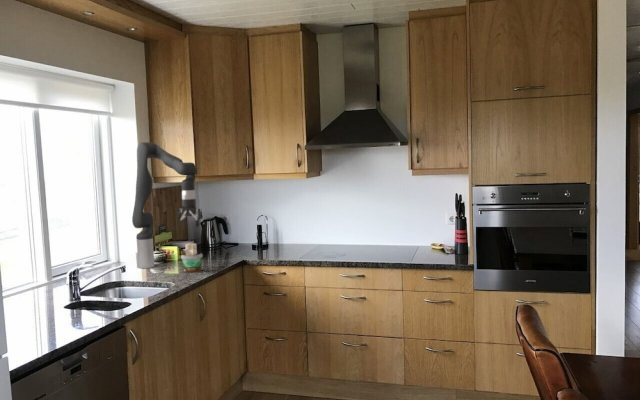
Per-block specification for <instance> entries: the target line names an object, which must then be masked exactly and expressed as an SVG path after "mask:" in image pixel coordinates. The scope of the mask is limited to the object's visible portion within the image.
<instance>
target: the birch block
mask: <svg viewBox="0 0 640 400" xmlns="http://www.w3.org/2000/svg"><path fill="white" fill-rule="evenodd" d="M184 248H185V256H188V255H198V251H197V250H198V249H197V243H192V242H191V243H187V244H186V243H185V247H184Z"/></svg>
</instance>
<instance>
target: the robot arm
mask: <svg viewBox="0 0 640 400" xmlns="http://www.w3.org/2000/svg"><path fill="white" fill-rule="evenodd" d="M153 158H154V159H158V160H160V161H161V162H162V163H163V164H164V165H165V166H166V167H168V168H171V169H172V170H174V171H175V172H176V173H177V174H178V175H181V176H186V177H185V179H183V180H182V181H181V204H182V205H181V207H182V208H180V207H179V208H177V211H176V214H177V215H176V216H177V220H180V226H181V227H182V228H184V227H186V224H185V219H186V218H187V217H192V218H193V219H194V220H195V221H194V222H195V228H199V227H200V221H201V219H203V211H202V208H201V207H198V208H197V201H196V199H197V198H196V197H197V196H196V191H195V182H196V177H197V173H198V172H197V166H196V164H195V163H193V162H183V159H181V158H179V157H177V156H175V155H173V154H171V153H169V152H167V151H166V150H165V149H163V148H162V147H160V145H157V144H156V143H154V142H151V141H150V142H149V141H148V142H146V141H145V142H144V141H143V142H140V143H138V145H137V147H136V166H137V167H136V182H135V183H136V184H135V197H134V205H133V212H132V218H131V220H132V226H133V227H134V228H135V229H141V231H140V232H139V233H137V234H136V250H137V251H136V252H135V256H136V257H135V261H136V268H137V269H150V268H153V267H155V253H154V238H153V236H154V217H153V215H152V213H151V211H144V210H145V209H144V208H145V206H146V203H147V201H148V200H149V198H150V197H151V195H152V192H153V183H154V182H153V181H154V180H153V177H152V175H151V173H150V171H149V169H148V159H153ZM182 213H183V214H182Z"/></svg>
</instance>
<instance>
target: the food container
mask: <svg viewBox="0 0 640 400" xmlns="http://www.w3.org/2000/svg"><path fill="white" fill-rule="evenodd" d="M203 257H204V255H203V253H202V252H201V253H199V254H198V253H197V254H196V255H186V254H185V255H183V254H181V255H180V259H181V260H182V267H183V272H184V273H187V274H193V273H194V272H195V273H199V272H201V271H202V259H203Z"/></svg>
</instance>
